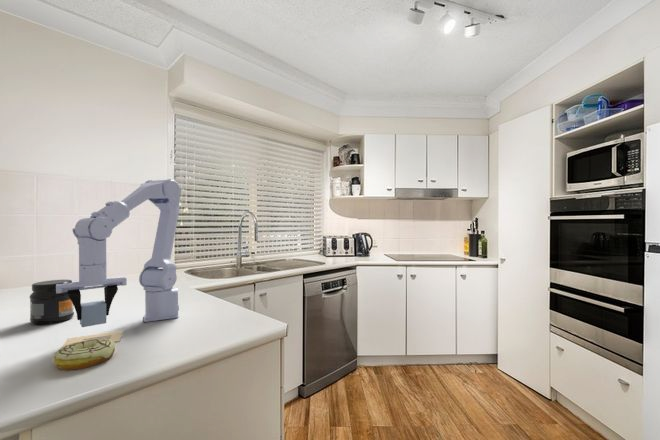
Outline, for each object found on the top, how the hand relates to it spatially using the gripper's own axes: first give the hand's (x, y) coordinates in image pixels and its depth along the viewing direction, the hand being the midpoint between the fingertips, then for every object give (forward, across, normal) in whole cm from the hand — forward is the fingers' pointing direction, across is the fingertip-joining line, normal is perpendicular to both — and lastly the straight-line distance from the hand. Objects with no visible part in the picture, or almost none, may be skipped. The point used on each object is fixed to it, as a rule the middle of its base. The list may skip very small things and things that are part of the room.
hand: (93, 316), depth 83 cm
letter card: (+6, 0, 0) cm, 6 cm away
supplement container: (+6, +7, -30) cm, 32 cm away
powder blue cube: (+2, 0, 0) cm, 2 cm away
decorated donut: (+6, +3, +14) cm, 16 cm away
